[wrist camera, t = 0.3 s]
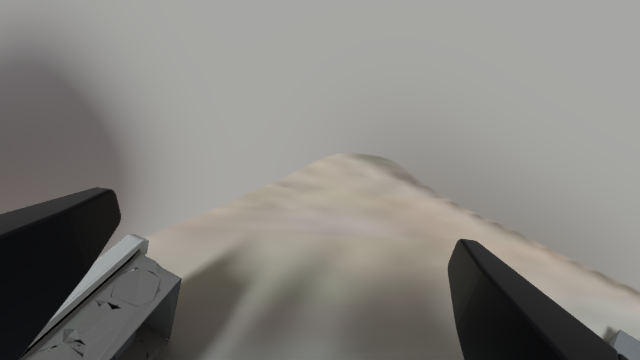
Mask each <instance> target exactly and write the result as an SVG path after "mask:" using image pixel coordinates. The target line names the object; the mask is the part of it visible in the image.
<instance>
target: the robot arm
mask: <svg viewBox="0 0 640 360" xmlns="http://www.w3.org/2000/svg"><path fill="white" fill-rule="evenodd" d="M120 220H121V213H120V209H119V205H118V200H117V196H116V194H115V192H114V191H113V190H112V189H106V188H99V187H97V188H92V189H89V190H85V191H81V192H78V193H74V194H71V195H67V196H64V197H60V198H57V199H53V200H50V201H46V202H42V203H39V204H35V205H32V206H29V207H25V208H21V209H18V210H14V211H11V212H7V213H4V214H0V360H19V359H20V358H21V356H22V355H23V354H24V353H25V351H26V350H27V349H28V348H29V346H30V345H31V344H32V343H33V341H34V340H35V339H36V337H37V336H38V335H39V334H40V332H41V331H42V330H43V329H44V327H45V326H46V325H47V324H48V322H49V321H50V320H51V319H52V317H53V316H54V315H55V314H56V312H57V311H58V310H59V308H60V307H61V306H62V305H63V303H64V302H65V301H66V300H67V298H68V297H69V296H70V295H71V293H72V292H73V291H74V290H75V288H76V287H77V286H78V285H79V283H80V282H81V281H82V279H83V278H84V277H85V275H86V274H87V273H88V271H89V270H90V268H91V267H92V265H93V264H94V262H95V261H96V259H97V258H98V256H99V255H100V253H101V252H102V250H103V249H104V247H105V245H106V244H107V242H108V241H109V239H110V238H111V236H112V235H113V233H114V231H115V230H116V228H117V227H118V225H119V223H120ZM448 277H449V283H450V290H451V297H452V304H453V311H454V318H455V324H456V329H457V333H458V337H459V341H460V345H461V349H462V352H463V356H464V360H629V359H628V358H626V357H625V356H624V355H623V354H618V351H617V350H616V349H615V348H613V347H612V346H611V345H610V344H608V343H607V342H606V341H604V340H603V339H602V338H601V337H599V336H598V335H597V334H595V333H594V332H593V331H592V330H590V329H589V328H588V327H586V326H585V325H584V324H583V323H581V322H580V321H579V320H577V319H576V318H575V317H574V316H572V315H571V314H570V313H568V312H567V311H566V310H565V309H563V308H562V307H561V306H559V305H558V304H557V303H556V302H554V301H553V300H552V299H550V298H549V297H548V296H547V295H545V294H544V293H543V292H541V291H540V290H539V289H538V288H536V287H535V286H534V285H532V284H531V283H530V282H529V281H527V280H526V279H525V278H523V277H522V276H521V275H520V274H518V273H517V272H516V271H514V270H513V269H512V268H511V267H509V266H508V265H507V264H505V263H504V262H503V261H502V260H500V259H499V258H498V257H496V256H495V255H494V254H493V253H491V252H490V251H489V250H487V249H486V248H485V247H484V246H482V245H481V244H480V243H478V242H477V241H474V240H467V239H460V240H458V241H457V243H456V245H455V248H454V250H453V253H452V255H451V258H450V261H449V263H448Z"/></svg>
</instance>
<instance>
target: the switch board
mask: <svg viewBox="0 0 640 360" xmlns="http://www.w3.org/2000/svg"><path fill="white" fill-rule="evenodd" d="M609 344H610V345H611V346H612V347H613V348H615V349H616V350H617V351H618V354H623V355H624V356H625V357H626V358H628V359H629V360H640V341H638V340H636V339H635V338H633V337H632V336H630V335H628V334H627V333H625V332H623V331H622V330H619V331H618V332H617V333H616V334H615V335H614V336H613V337H612V338H611V340H610V342H609Z"/></svg>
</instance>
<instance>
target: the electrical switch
mask: <svg viewBox="0 0 640 360" xmlns="http://www.w3.org/2000/svg"><path fill="white" fill-rule="evenodd" d="M148 243H149V241H148V240H147V239H145V238H142V237H140V236H137V235H133V234H129V235H127V236H126V237H125V238H124V239H122V240H121V241H120V242H119V243H117V244H116V245H115V246H114V247H112V248H111V249H110V250H109V251H107V252H106V253H105V254H104V255H102V256H101V257H100V258H99V259H98V260H96V261H95V262H94V264H93V265H92V267H91V268H90V270H89V271H88V273H87V274H86V275H85V277H84V278H83V279H82V281H81V282H80V283H79V285H78V286H77V287H76V288H75V290H74V291H73V292H72V293H71V295H70V296H69V297H68V298H67V300H66V301H65V302H64V303H63V305H62V306H61V307H60V308H59V310H58V311H57V312H56V314H55V315H54V316H53V317H52V319H51V320H50V321H49V322H48V324H47V325H46V326H45V327H44V329H43V330H42V331H41V332H40V334H39V335H38V336H37V337H36V339H35V340H34V341H33V343H32V344H31V345H30V346H29V348H28V349H27V350H26V351H25V353H24V354H23V355H22V356H21V358H20V359H19V360H153V359H154V358H155V357H156V355H157V354H158V353H159V351H160V350H161V349H162V347H163V346H164V345H165V344H166V342H167V339H170V334H171V329H172V324H173V319H174V314H175V309H176V304H177V299H178V294H179V289H180V284H181V279H182V278H180V277H178V276H176V275H174V274H173V273H171V272H169V271H167V270H165V269H163V268H162V267H161V266H160V265H159V264H158V263H157V262H156V261H154V260H152V259H150V258H148V257H146V256H145V254H147V249H148ZM155 332H156V333H155ZM157 333H158V334H157ZM160 335H161V336H160ZM162 336H163V337H165V338H167V339H165V338H163V337H162ZM140 340H143V342H141V341H140Z"/></svg>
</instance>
